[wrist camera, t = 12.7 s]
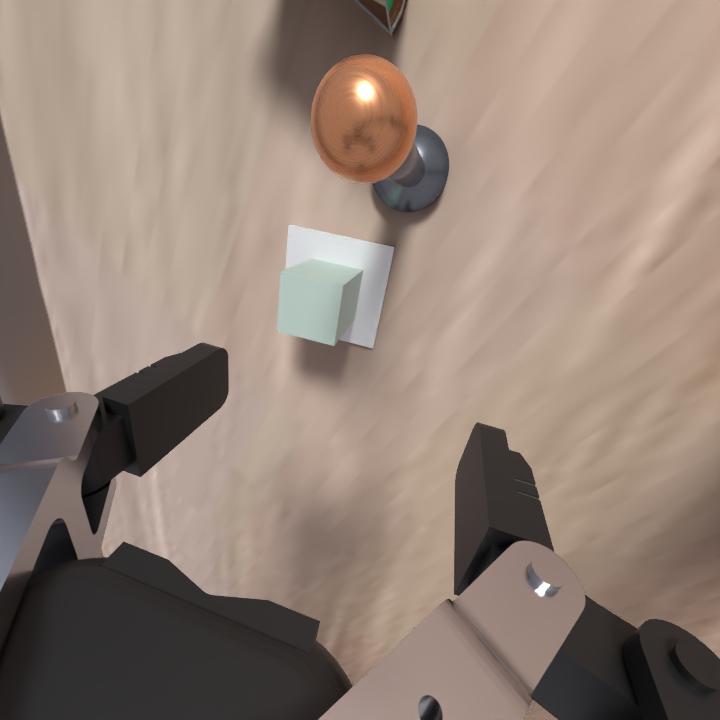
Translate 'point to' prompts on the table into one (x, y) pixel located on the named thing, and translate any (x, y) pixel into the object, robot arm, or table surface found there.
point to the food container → (385, 12)
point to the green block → (318, 300)
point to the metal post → (377, 133)
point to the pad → (351, 254)
